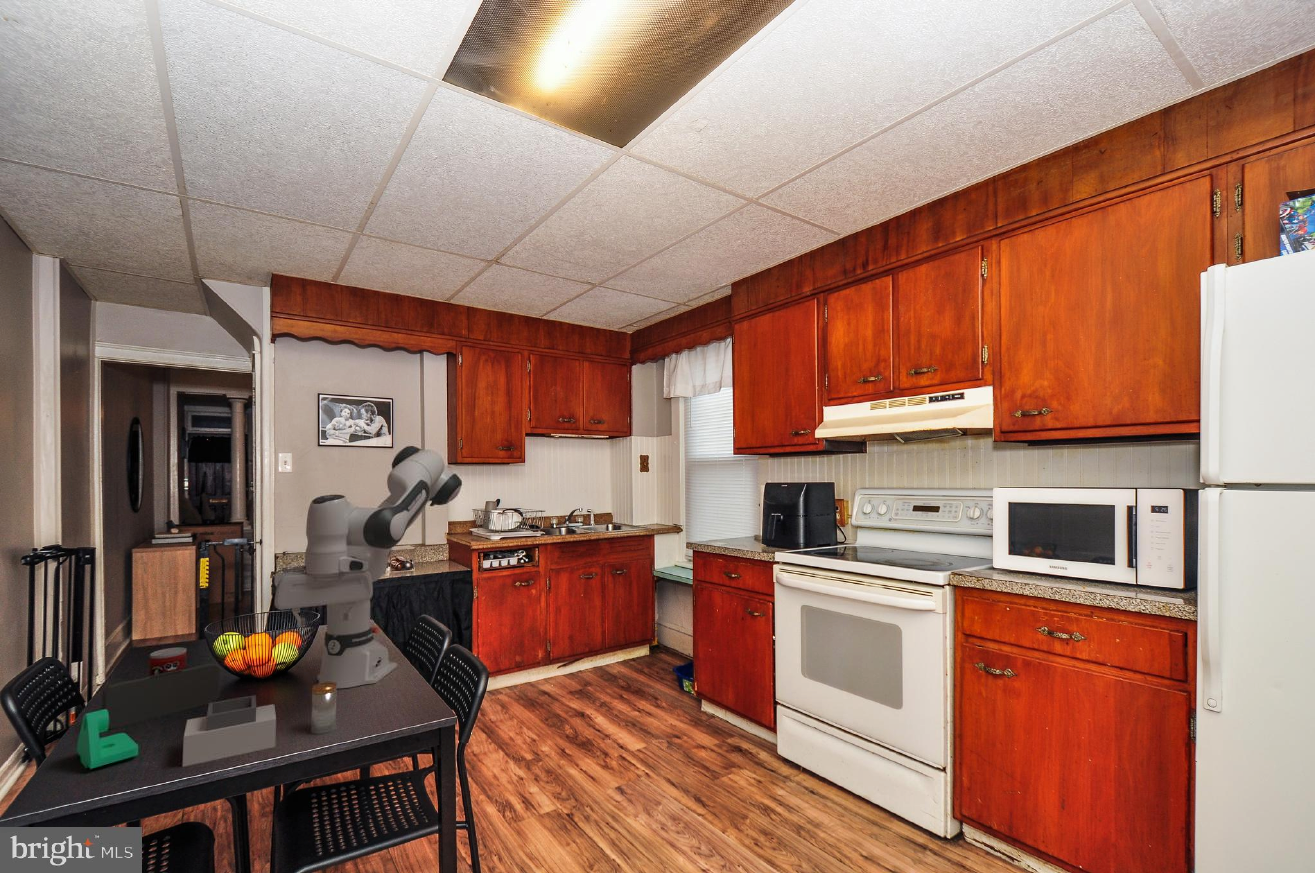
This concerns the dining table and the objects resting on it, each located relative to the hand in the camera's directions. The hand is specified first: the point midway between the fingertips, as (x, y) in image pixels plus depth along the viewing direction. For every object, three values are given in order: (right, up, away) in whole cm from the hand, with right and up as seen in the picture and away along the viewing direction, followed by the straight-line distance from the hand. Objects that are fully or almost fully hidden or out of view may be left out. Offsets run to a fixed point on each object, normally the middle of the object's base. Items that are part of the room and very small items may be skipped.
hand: (324, 623), depth 144 cm
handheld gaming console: (-44, -25, +7) cm, 51 cm away
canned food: (-54, -25, +22) cm, 64 cm away
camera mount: (-37, -24, -15) cm, 47 cm away
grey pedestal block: (-15, -24, -11) cm, 30 cm away
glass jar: (+1, -24, -1) cm, 24 cm away
